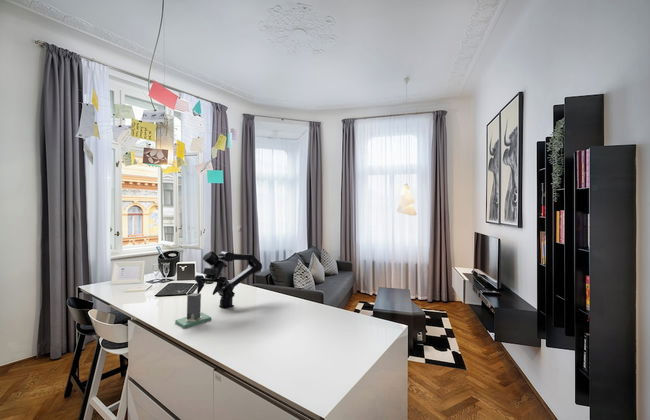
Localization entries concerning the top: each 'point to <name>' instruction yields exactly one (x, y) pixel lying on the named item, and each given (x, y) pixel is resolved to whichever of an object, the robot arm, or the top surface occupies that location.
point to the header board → (192, 320)
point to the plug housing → (193, 305)
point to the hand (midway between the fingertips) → (205, 294)
